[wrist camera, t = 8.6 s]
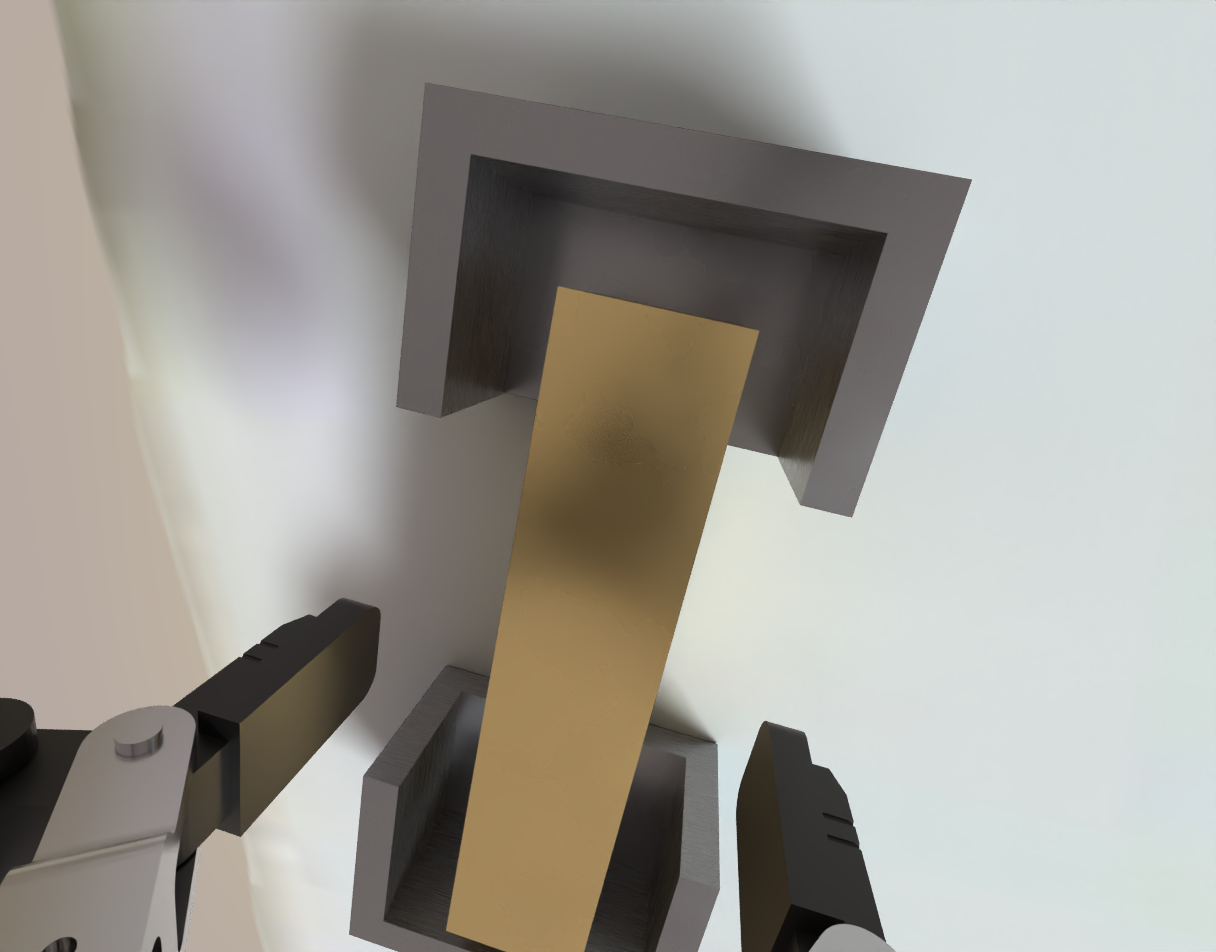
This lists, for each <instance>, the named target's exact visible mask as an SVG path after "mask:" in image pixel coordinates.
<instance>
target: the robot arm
mask: <svg viewBox="0 0 1216 952" xmlns="http://www.w3.org/2000/svg"><path fill="white" fill-rule="evenodd" d="M380 618H381V615H380V610H379V609H378V608H377V607H373V606H370V605H366V604H363V603H359V602H356V601H352V600H349V599H345V598H342V599H339V600H338V601H336V602H335V603H334V604H332V605H331V606H330V607H329V608H327V609H326V610H325V611H323V612H322V613H321V614H320V615H318V616H317V617H316V616H312V615H307V616H304V617H302V618H299V619H297V620H294V621H291V622H289V623H286V624H284V625H282V626H280V627H279V628H278V629H276V630H275V631H273V632H272V633H271V634H269V635H268V636H267V637H265V638H264V639H263V640H261V643H260V644H256V645H255V646H253V647H252V648H250V649H249V650H248V651H246V652H245V653H244V654H243V656H242V658H241V657H238V658H237V659H236V660H234V661H233V662H232V663H230V664H229V665H228V666H226V667H225V668H223V669H222V670H221V671H219V672H218V673H217V674H215V675H214V676H213V677H211V678H210V679H209V680H207V681H206V682H205V683H203V684H202V685H200V686H199V687H198V688H196V689H195V690H194V691H192V692H191V693H190V694H188V695H187V696H186V697H184V698H183V699H182V700H180V701H179V702H178V703H176V704H175V705H174V706H149V707H144V708H138V709H135V710H131V711H128V712H125V713H123V714H120V715H117V716H115V717H114V718H111V719H109V720H108V721H106V722H104V723H103V724H101V725H99V726H98V727H97V728H95V729H94V730H93V731H90V730H89V731H88V730H54V729H36V723H35V717H34V711H33V709H32V707H31V706H30V705H29V704H27V703H26V702H23V701H21V700H17V699H11V698H0V952H186V947H187V940H188V933H189V927H190V920H191V914H192V907H193V900H194V893H195V887H196V880H197V873H198V867H199V861H200V845H201V844H202V843H203V842H204V841H205V839H207V837H208V836H209V835H210V834H211V833H212V832H213V831H214V830H215V829H219V830H222V831H226V832H228V833H231V834H234V835H237V836H240V837H241V836H242V835H243V834H244V832H245V831H246V830H247V829H248V828H249V827H250V826H251V825H252V823H253V822H254V821H255V820H256V819H257V818H258V817H259V816H260V814H261V813H262V812H263V811H264V810H265V809H266V808H267V807H268V806H269V804H270V803H271V802H272V801H273V800H274V799H275V798H276V797H277V795H278V794H279V793H280V792H281V791H282V790H283V789H284V788H285V786H286V785H287V784H288V783H289V782H290V781H291V780H292V779H293V777H294V776H295V775H296V774H297V773H298V772H299V771H300V770H301V769H302V767H303V766H304V765H305V764H306V763H307V762H308V761H309V760H310V758H311V757H312V756H313V755H314V754H315V753H316V752H317V751H318V749H319V748H320V747H321V746H322V745H323V744H324V743H325V742H326V740H327V739H328V738H329V737H330V736H331V735H332V734H333V733H334V732H335V730H336V729H337V728H338V727H339V726H340V725H341V724H342V723H343V721H344V720H345V719H346V718H347V717H348V716H349V715H350V714H351V712H352V711H353V710H354V709H355V708H356V707H357V706H358V705H359V703H360V702H361V701H362V700H363V699H364V697H365V696H366V694H367V693H368V691H369V689H370V687H371V685H372V682H373V680H374V677H375V673H376V666H377V654H378V642H379V631H380ZM853 822H854V821H853V818H852V814H851V810H850V806H849V803H848V799H847V795H846V794H845V792H844V791H843V789H842V788H841V786H840V785H839V783H838V782H837V780H836V779H835V777H834V776H833V774H832V773H831V771H830V770H829V769H828V768H824V767H821V766H818V765H814V764H812V761H811V756H810V752H809V747H808V742H807V738H806V735H805V733H804V732H802V731H799V730H795V729H792V728H788V727H785V726H781V725H778V724H774V723H771V722H768V721H764V722H763V723H762V725H761V727H760V729H759V732H758V735H757V738H756V741H755V744H754V746H753V749H752V752H751V755H750V758H749V760H748V763H747V766H746V769H745V772H744V775H743V777H742V780H741V784H740V788H739V793H738V799H737V808H736V826H737V850H738V875H739V899H740V924H741V948H742V952H896V951H895V950H894V949H893V948H892V947H891V946H889V945H888V944H887V943H886V940H885V937H884V933H883V930H882V926H881V922H880V918H879V915H878V911H877V907H876V904H875V900H874V896H873V892H872V889H871V885H870V881H869V877H868V874H867V870H866V866H865V862H864V859H863V855H862V851H861V850H860V849H859V840H858V836H857V833H856V829H855V827H853Z"/></svg>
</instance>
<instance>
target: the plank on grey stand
mask: <svg viewBox="0 0 1216 952" xmlns="http://www.w3.org/2000/svg"><path fill="white" fill-rule="evenodd" d="M971 181H972V180H971V179H966V178H960V177H954V176H949V175H943V174H937V173H932V172H926V171H921V170H915V169H909V168H904V167H898V166H892V165H887V164H881V163H875V162H870V161H864V160H858V159H853V158H847V157H842V156H836V155H830V154H825V153H819V152H813V151H808V150H802V149H796V148H791V147H785V146H779V145H774V144H768V143H763V142H757V141H751V140H746V139H740V138H734V137H729V136H723V135H717V134H712V133H706V132H701V131H695V130H689V129H684V128H678V127H672V126H667V125H661V124H655V123H650V122H644V121H638V120H633V119H627V118H622V117H616V116H610V115H605V114H599V113H593V112H588V111H582V110H576V109H571V108H565V107H560V106H554V105H548V104H543V103H537V102H531V101H526V100H520V99H514V98H509V97H503V96H497V95H492V94H486V93H481V92H475V91H469V90H464V89H458V88H452V87H447V86H441V85H435V84H430V83H425V91H424V102H423V114H422V125H421V136H420V147H419V158H418V170H417V181H416V192H415V203H414V214H413V226H412V237H411V248H410V259H409V270H408V282H407V293H406V304H405V315H404V326H403V338H402V349H401V360H400V371H399V382H398V394H397V405H396V407H398V408H403V409H407V410H411V411H415V412H419V413H423V414H427V415H431V416H435V417H440V418H441V417H444V416H447V415H449V414H452V413H454V412H457V411H460V410H462V409H465V408H467V407H470V406H473V405H475V404H478V403H480V402H483V401H486V400H488V399H491V398H493V397H496V396H499V395H501V394H504V393H509V394H513V395H517V396H521V397H526V398H530V399H534V400H538V398H539V392H540V386H541V381H542V375H543V369H544V363H545V358H546V352H547V346H548V340H549V335H550V329H551V323H552V317H553V312H554V306H555V300H556V294H557V289H558V286H560V287H566V288H571V289H577V290H582V291H588V292H593V293H599V294H604V295H609V296H614V297H618V298H623V299H627V300H632V301H636V302H641V303H645V304H650V305H654V306H659V307H663V308H668V309H673V310H677V311H682V312H686V313H691V314H695V315H700V316H704V317H709V318H713V319H718V320H722V321H727V322H731V323H736V324H740V325H744V326H747V327H750V328H753V329H756V330H759V334H758V338H757V341H756V345H755V348H754V352H753V355H752V359H751V362H750V366H749V369H748V373H747V377H746V380H745V384H744V387H743V391H742V394H741V398H740V401H739V405H738V408H737V412H736V415H735V419H734V423H733V426H732V430H731V433H730V437H729V440H728V444H727V445H730V446H734V447H739V448H743V449H747V450H751V451H756V452H760V453H764V454H768V455H773V456H777V457H778V459H779V461H780V463H781V465H782V467H783V470H784V472H785V474H786V476H787V478H788V480H789V482H790V485H791V487H792V489H793V491H794V493H795V495H796V497H797V499H798V502H799V504H800V505H802V506H806V507H811V508H815V509H819V510H823V511H827V512H831V513H835V514H839V515H844V516H848V517H852V516H853V513H854V510H855V507H856V505H857V502H858V499H859V496H860V493H861V491H862V488H863V485H864V482H865V479H866V476H867V474H868V471H869V468H870V465H871V462H872V460H873V457H874V454H875V451H876V448H877V446H878V443H879V440H880V437H881V434H882V431H883V429H884V426H885V423H886V420H887V417H888V415H889V412H890V409H891V406H892V403H893V401H894V398H895V395H896V392H897V389H898V386H899V384H900V381H901V378H902V375H903V372H904V370H905V367H906V364H907V361H908V358H909V356H910V353H911V350H912V347H913V344H914V341H915V339H916V336H917V333H918V330H919V327H920V325H921V322H922V319H923V316H924V313H925V311H926V308H927V305H928V302H929V299H930V296H931V294H932V291H933V288H934V285H935V282H936V280H937V277H938V274H939V271H940V268H941V266H942V263H943V260H944V257H945V254H946V251H947V249H948V246H949V243H950V240H951V237H952V235H953V232H954V229H955V226H956V223H957V220H958V218H959V215H960V212H961V209H962V206H963V204H964V201H965V198H966V195H967V192H968V190H969V187H970V184H971ZM489 680H490V678H488V677H485V676H481V675H478V674H474V673H471V672H468V671H464V670H461V669H457V668H454V667H450V666H447V665H446V667H445V668H444V669H443V671H442V672H441V673H440V675H439V676H438V677H437V679H436V680H435V681H434V683H433V684H432V685H431V687H430V688H429V689H428V691H427V692H426V693H425V695H424V696H423V697H422V698H421V700H420V701H419V702H418V704H417V705H416V706H415V708H414V709H413V710H412V712H411V713H410V714H409V716H408V717H407V718H406V720H405V721H404V722H403V724H402V725H401V726H400V728H399V729H398V730H397V732H396V733H395V734H394V736H393V737H392V738H391V740H390V741H389V742H388V744H387V745H386V746H385V748H384V749H383V750H382V752H381V753H380V754H379V756H378V757H377V758H376V760H375V761H374V762H373V764H372V765H371V766H370V768H369V769H368V770H367V772H366V773H365V774H364V776H363V785H362V796H361V808H360V819H359V830H358V841H357V852H356V864H355V875H354V886H353V897H352V908H351V920H350V931H349V935H352V936H355V937H358V938H361V939H364V940H366V941H369V942H372V943H375V944H378V945H381V946H384V947H386V948H389V949H392V950H395V951H398V952H505V951H502V950H499V949H497V948H494V947H491V946H488V945H485V944H482V943H479V942H477V941H474V940H471V939H468V938H465V937H462V936H459V935H457V934H454V933H451V932H448V931H446V928H447V922H448V916H449V910H450V905H451V899H452V893H453V887H454V882H455V876H456V870H457V864H458V859H459V853H460V847H461V841H462V836H463V830H464V824H465V818H466V812H467V807H468V801H469V795H470V789H471V784H472V778H473V772H474V766H475V761H476V755H477V749H478V743H479V738H480V732H481V726H482V720H483V715H484V709H485V703H486V697H487V692H488V686H489ZM719 890H720V873H719V811H718V750H717V744H715V743H712V742H708V741H705V740H701V739H698V738H694V737H691V736H688V735H684V734H681V733H677V732H674V731H670V730H667V729H663V728H660V727H657V726H653V725H650V724H648V727H647V731H646V734H645V738H644V741H643V745H642V748H641V752H640V756H639V759H638V763H637V766H636V770H635V773H634V777H633V780H632V784H631V787H630V791H629V794H628V798H627V802H626V805H625V809H624V812H623V816H622V819H621V823H620V826H619V830H618V833H617V837H616V841H615V844H614V848H613V851H612V855H611V858H610V862H609V865H608V869H607V872H606V876H605V879H604V883H603V887H602V890H601V894H600V897H599V901H598V904H597V908H596V911H595V915H594V918H593V922H592V926H591V929H590V933H589V936H588V940H587V943H586V947H585V950H584V952H698V949H699V946H700V943H701V941H702V938H703V935H704V932H705V929H706V927H707V924H708V921H709V918H710V915H711V912H712V910H713V907H714V904H715V901H716V898H717V896H718V893H719Z"/></svg>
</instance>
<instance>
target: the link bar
mask: <svg viewBox="0 0 1216 952" xmlns="http://www.w3.org/2000/svg"><path fill="white" fill-rule="evenodd" d="M758 334H759V330H756V329H753V328H750V327H747V326H744V325H740V324H736V323H731V322H727V321H722V320H718V319H713V318H709V317H704V316H700V315H695V314H691V313H686V312H682V311H677V310H673V309H668V308H663V307H659V306H654V305H650V304H645V303H641V302H636V301H632V300H627V299H623V298H618V297H614V296H609V295H604V294H599V293H593V292H588V291H582V290H577V289H571V288H566V287H560V286H558V289H557V294H556V300H555V306H554V312H553V317H552V323H551V329H550V335H549V340H548V346H547V352H546V358H545V363H544V369H543V375H542V381H541V386H540V392H539V398H538V404H537V409H536V415H535V421H534V427H533V433H532V438H531V444H530V450H529V456H528V461H527V467H526V473H525V479H524V484H523V490H522V496H521V502H520V507H519V513H518V519H517V525H516V530H515V536H514V542H513V548H512V553H511V559H510V565H509V571H508V576H507V582H506V588H505V594H504V599H503V605H502V611H501V617H500V623H499V628H498V634H497V640H496V646H495V651H494V657H493V663H492V669H491V674H490V680H489V686H488V692H487V697H486V703H485V709H484V715H483V720H482V726H481V732H480V738H479V743H478V749H477V755H476V761H475V766H474V772H473V778H472V784H471V789H470V795H469V801H468V807H467V812H466V818H465V824H464V830H463V836H462V841H461V847H460V853H459V859H458V864H457V870H456V876H455V882H454V887H453V893H452V899H451V905H450V910H449V916H448V922H447V928H446V931H448V932H451V933H454V934H457V935H459V936H462V937H465V938H468V939H471V940H474V941H477V942H479V943H482V944H485V945H488V946H491V947H494V948H497V949H499V950H502V951H505V952H584V950H585V947H586V943H587V940H588V936H589V933H590V929H591V926H592V922H593V918H594V915H595V911H596V908H597V904H598V901H599V897H600V894H601V890H602V887H603V883H604V879H605V876H606V872H607V869H608V865H609V862H610V858H611V855H612V851H613V848H614V844H615V841H616V837H617V833H618V830H619V826H620V823H621V819H622V816H623V812H624V809H625V805H626V802H627V798H628V794H629V791H630V787H631V784H632V780H633V777H634V773H635V770H636V766H637V763H638V759H639V756H640V752H641V748H642V745H643V741H644V738H645V734H646V731H647V727H648V724H649V720H650V717H651V713H652V709H653V706H654V702H655V699H656V695H657V692H658V688H659V685H660V681H661V678H662V674H663V670H664V667H665V663H666V660H667V656H668V653H669V649H670V646H671V642H672V639H673V635H674V632H675V628H676V624H677V621H678V617H679V614H680V610H681V607H682V603H683V600H684V596H685V593H686V589H687V585H688V582H689V578H690V575H691V571H692V568H693V564H694V561H695V557H696V554H697V550H698V547H699V543H700V539H701V536H702V532H703V529H704V525H705V522H706V518H707V515H708V511H709V508H710V504H711V500H712V497H713V493H714V490H715V486H716V483H717V479H718V476H719V472H720V469H721V465H722V462H723V458H724V454H725V451H726V447H727V444H728V440H729V437H730V433H731V430H732V426H733V423H734V419H735V415H736V412H737V408H738V405H739V401H740V398H741V394H742V391H743V387H744V384H745V380H746V377H747V373H748V369H749V366H750V362H751V359H752V355H753V352H754V348H755V345H756V341H757V338H758Z"/></svg>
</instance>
